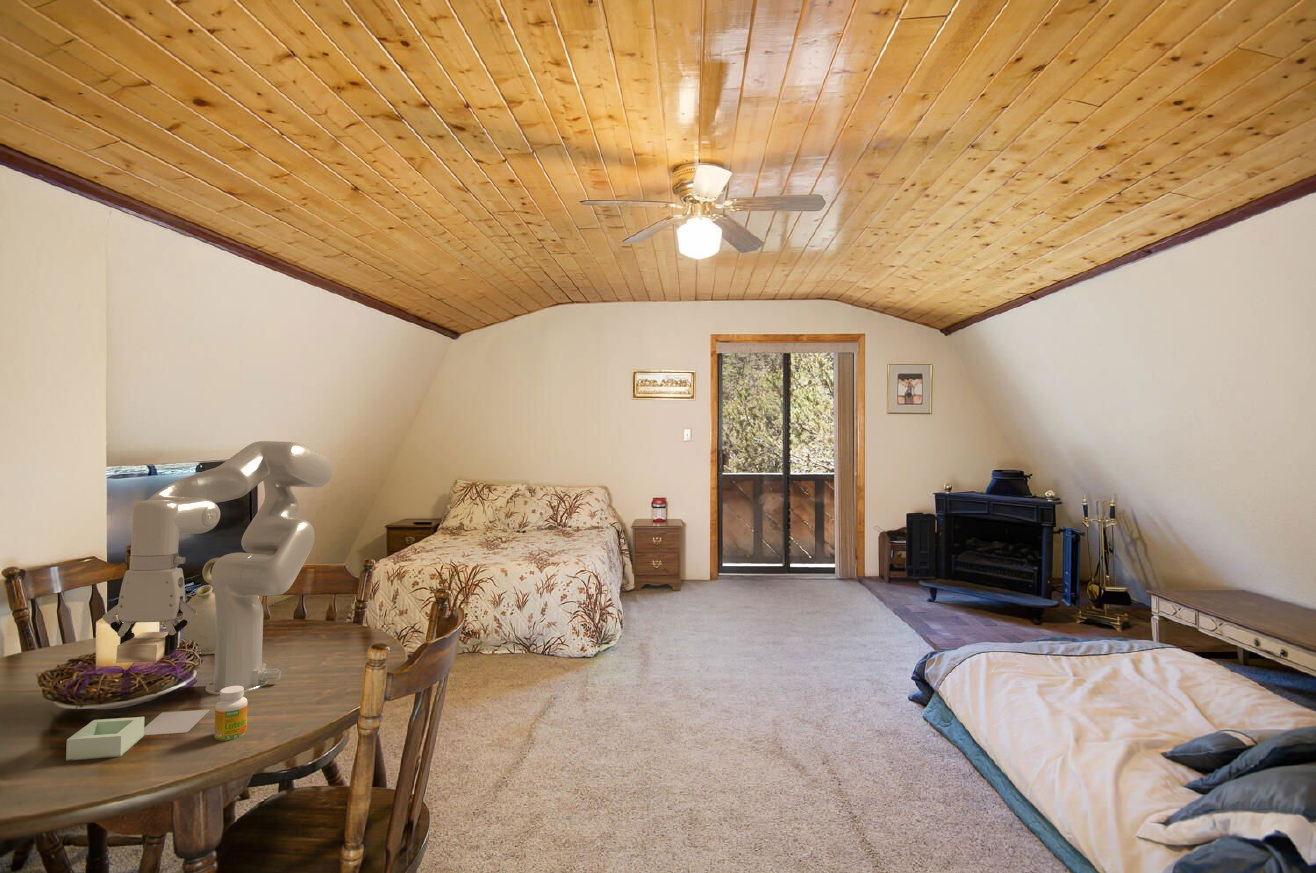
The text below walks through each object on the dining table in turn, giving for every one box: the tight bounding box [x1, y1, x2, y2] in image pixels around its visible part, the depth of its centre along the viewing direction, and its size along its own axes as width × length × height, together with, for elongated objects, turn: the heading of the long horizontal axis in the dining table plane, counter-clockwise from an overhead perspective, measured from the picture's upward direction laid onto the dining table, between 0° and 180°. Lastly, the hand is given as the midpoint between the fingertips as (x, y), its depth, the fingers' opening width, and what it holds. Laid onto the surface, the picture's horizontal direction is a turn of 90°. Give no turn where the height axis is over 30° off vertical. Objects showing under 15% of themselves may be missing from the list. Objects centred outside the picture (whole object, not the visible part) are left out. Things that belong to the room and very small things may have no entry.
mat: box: [144, 709, 210, 736], centre depth 136 cm, size 9×11×1 cm
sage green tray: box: [65, 716, 145, 761], centre depth 125 cm, size 8×8×4 cm
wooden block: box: [115, 631, 181, 664], centre depth 131 cm, size 6×10×3 cm, turn 15°
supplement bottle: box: [213, 686, 248, 742], centre depth 132 cm, size 5×5×10 cm
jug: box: [182, 557, 220, 656], centre depth 184 cm, size 15×16×25 cm
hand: (148, 653), depth 131 cm, fingers closed on wooden block, 6 cm apart
